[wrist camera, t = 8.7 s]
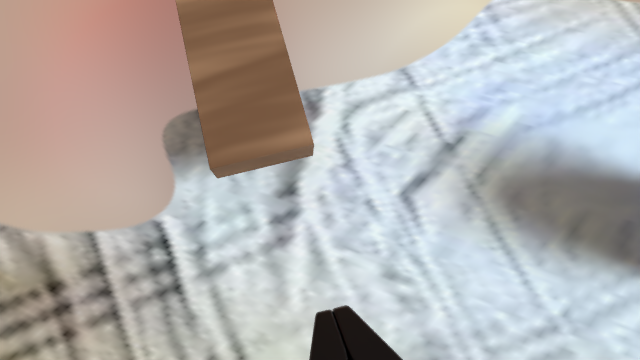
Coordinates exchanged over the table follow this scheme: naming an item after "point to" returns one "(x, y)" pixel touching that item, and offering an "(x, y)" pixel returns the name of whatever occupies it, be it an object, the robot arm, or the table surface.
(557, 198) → the table surface
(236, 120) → the domino
